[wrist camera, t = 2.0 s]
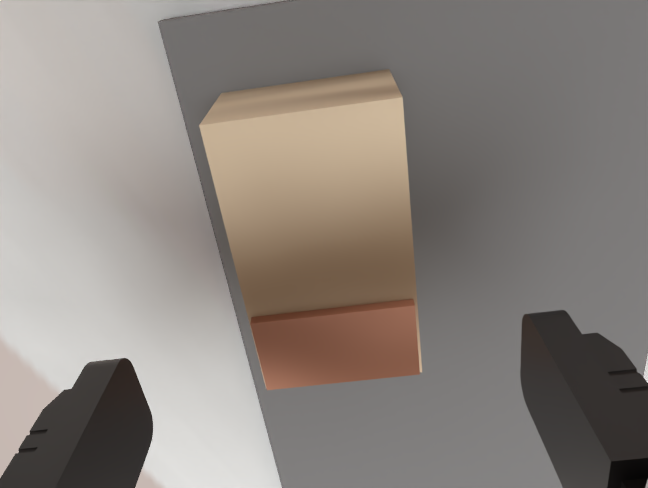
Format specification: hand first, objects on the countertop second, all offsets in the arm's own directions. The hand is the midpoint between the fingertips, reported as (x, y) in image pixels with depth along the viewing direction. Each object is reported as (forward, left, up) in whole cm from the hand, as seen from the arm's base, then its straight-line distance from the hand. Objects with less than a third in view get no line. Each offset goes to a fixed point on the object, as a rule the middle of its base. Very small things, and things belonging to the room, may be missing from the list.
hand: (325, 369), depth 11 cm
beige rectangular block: (0, 0, -7) cm, 7 cm away
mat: (+4, +4, -7) cm, 9 cm away
